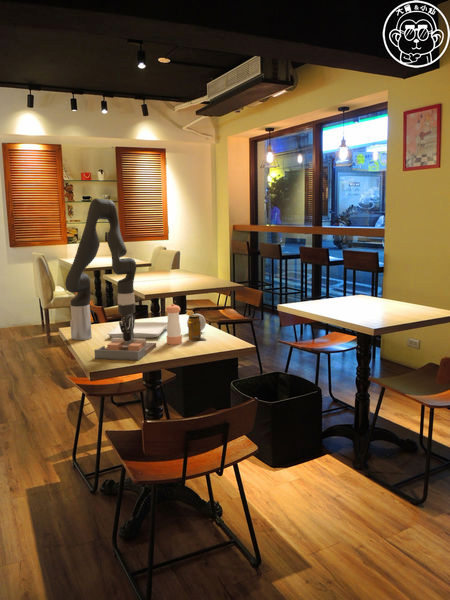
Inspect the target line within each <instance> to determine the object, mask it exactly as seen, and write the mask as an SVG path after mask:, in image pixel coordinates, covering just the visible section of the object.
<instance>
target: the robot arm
mask: <svg viewBox="0 0 450 600" xmlns="http://www.w3.org/2000/svg"><path fill="white" fill-rule="evenodd" d="M98 220H107V221H108V223H109V224H108V225H109V230H108V233H107V238H106V240H107V246H108V247H109V248H108V249H109V251H110V255H111V268H112V271H113V273H114V274H115V275H118V276H119V275H120V276H121V275H125V277H124V278H122V279H120V280H117V285H116V286H117V309H118V314H119V315H121V321H118V326H119V325H120V329H121V332H122V333H124V341H129V328H130V327H133V329H134V323H135V322H136V315H133V314H135V313H136V300H135V299H136V298H135V293H134V291H135V290H134V282H135V276H136V272H137V262H136V260H135V259H134V258H132V257H128V258H127V257H126V258H122V257H124V256H126V254H127V253H128V249H127V246H126V245H125V242H124V239H123V236H122V232H121V228H120V227H121V226H120V221H119V216H118V212H117V207H116V204H115V202H114V201H112V200H110V199H105V198H104V199H103V198H93V199H92V200H91V201H90V204H89V207H88V212H87V216H86V220H85V226H84V228H83V233H82V235H81V237H80V241H79V243H78V247H77V250H76V254H75V256H74V259H73V262H72V264H71V267H70V269H69V271H68V273H67V276H66V277H65V284H64V285H65V289H66V290H67V292H69V293H77V294H76V295H75V296H74V297H73V298H72V299H70V311H71V312H70V314H71V315H70V316H71V320H70V321H69V322H70V323H69V325H70V336H71V337H70V338H71V340H75V341H83V340H84V341H85V340H86V341H87V340H89V339H91V338H93V336H92V321H91V306H90V303H91V302H90V301H91V281H90V276H89V275H88V274H87V273H85V272H84V271H85V269H86V268H87V267H88V266H90V264H91V263H92V262H93V261H94V259H95V258H96V256H97V254H98V251H99V248H100V244H101V243H100V239H99V235H98V232H97V223H98Z"/></svg>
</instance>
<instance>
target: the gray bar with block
mask: <svg viewBox="0 0 450 600" xmlns="http://www.w3.org/2000/svg"><path fill="white" fill-rule="evenodd" d="M110 340H111V342H122V345H123V346H128V345H130V344H131V343H143V346H146V343H147V338H134V331H133V327H130V328H129V341H124V333H123V338H114V337H111V338H110ZM111 342H110V343H111Z"/></svg>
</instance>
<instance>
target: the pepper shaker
mask: <svg viewBox="0 0 450 600" xmlns="http://www.w3.org/2000/svg"><path fill="white" fill-rule="evenodd" d="M165 312H166V313H167V322H168V324H167V328H166V344H167V345H172V346H173V345H180V344H182V343H183V341H182V339H183V338H182V328H181V325H180V324H181V323H180V312H181V307H180V306H179V305H177V304H174V303H171V304H170V305H168V306H166V308H165Z"/></svg>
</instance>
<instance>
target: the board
mask: <svg viewBox="0 0 450 600" xmlns="http://www.w3.org/2000/svg"><path fill="white" fill-rule="evenodd" d="M143 347H144V348H145V356H146V355H147V354H149V353H150V352H152V351H153V350H154V349H156V348H157V342H146V346H143ZM105 350H108V347H106V346H105ZM120 350H122V351H129V350H128V346H123V345H122V348H121V349H120Z"/></svg>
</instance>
